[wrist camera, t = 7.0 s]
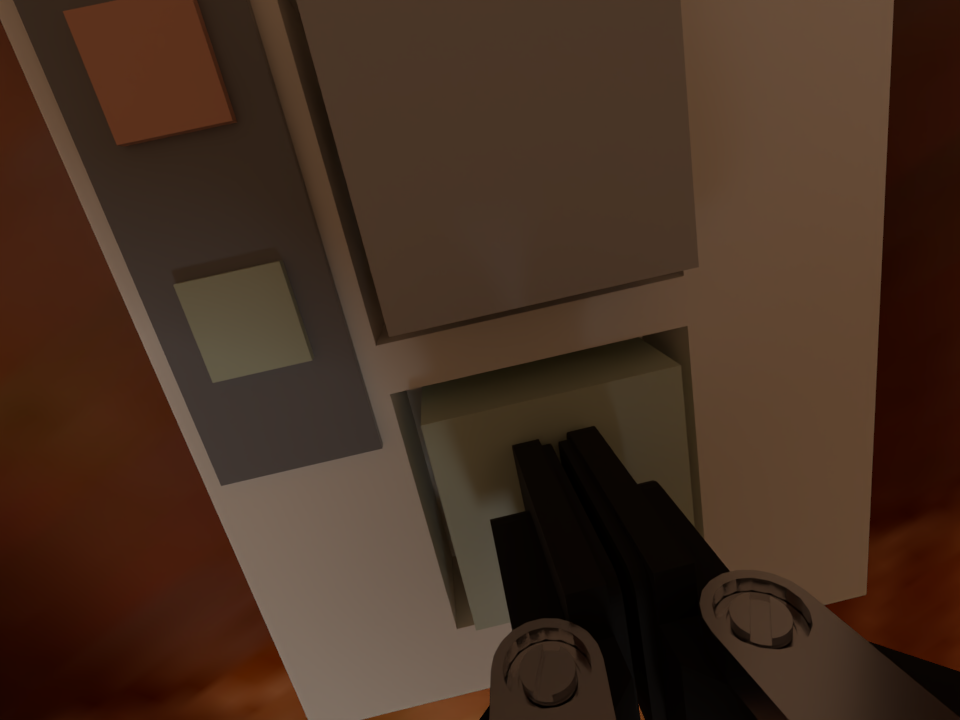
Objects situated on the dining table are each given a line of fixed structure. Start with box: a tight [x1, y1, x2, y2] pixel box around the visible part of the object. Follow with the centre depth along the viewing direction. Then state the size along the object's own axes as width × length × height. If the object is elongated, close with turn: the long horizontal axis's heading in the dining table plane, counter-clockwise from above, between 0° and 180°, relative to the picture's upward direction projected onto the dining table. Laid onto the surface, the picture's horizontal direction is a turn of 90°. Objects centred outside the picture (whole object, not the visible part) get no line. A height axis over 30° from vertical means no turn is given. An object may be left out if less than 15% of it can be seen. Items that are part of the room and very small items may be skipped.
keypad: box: [0, 0, 894, 720], centre depth 10 cm, size 14×24×4 cm, turn 12°
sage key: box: [421, 337, 695, 631], centre depth 12 cm, size 5×5×2 cm
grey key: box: [296, 0, 699, 337], centre depth 8 cm, size 5×5×2 cm
